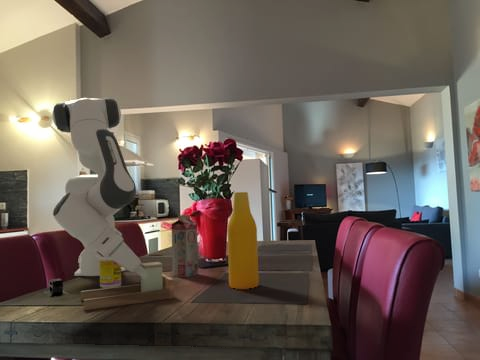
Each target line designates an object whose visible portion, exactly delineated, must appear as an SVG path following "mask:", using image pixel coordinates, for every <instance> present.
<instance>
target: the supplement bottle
mask: <svg viewBox="0 0 480 360" xmlns="http://www.w3.org/2000/svg"><path fill="white" fill-rule="evenodd" d="M121 267H122V266H121V265H119V264H118V263H116V262H115V261H113V260H111V259H109V258H108V259H106V258H105V257H101V258H100V276H99V286H100V289H103V288H111V287H119V286H122V271H121Z"/></svg>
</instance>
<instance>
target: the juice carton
mask: <svg viewBox="0 0 480 360" xmlns="http://www.w3.org/2000/svg"><path fill="white" fill-rule="evenodd" d="M177 217H178V218H177V220H176V221H175V222H174V223H172V224H171V258H172V262H171V263H172V277H178V278H179V277H180V278H190V277H193V276H197V275H199V255H198V253H199V251H198V250H199V249H198V245H199V244H198V243H199V242H198V223H197V222H196V221H194V220H192V219H191V214H181V215H178V216H177Z"/></svg>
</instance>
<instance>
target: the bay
mask: <svg viewBox="0 0 480 360" xmlns="http://www.w3.org/2000/svg"><path fill="white" fill-rule="evenodd" d="M162 277H163V289H161V290H153V291H145V292H141V283H139V284H138V283H137V284H129V285H120V286H118V287H111V288H96V289H87V290H80V302H83V311H90V310H97V309H105V308H112V307H118V306H127V305H131V304H140V303H146V302H149V303H150V302H155V301H160V300H161V301H162V300H170V299H174V298H175V280H174V279H173V278H172V277H170V276H168V275H167V274H164V272H162Z"/></svg>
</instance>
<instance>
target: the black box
mask: <svg viewBox="0 0 480 360" xmlns="http://www.w3.org/2000/svg"><path fill="white" fill-rule="evenodd" d="M63 282H64V281H63V279H61V278H56V279H55V278H54V279H49V284H48V285H49V286H48V287H49V289H48V290H49V291H43V292H42V293H43V294H44V295H46V296H47V297H48V298H55V297H54V296H56V297H61V295H63V296H66V295H65V294H69V293H68V292H67V293H66V291H65V290H64V284H63ZM64 291H65V292H64Z"/></svg>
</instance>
